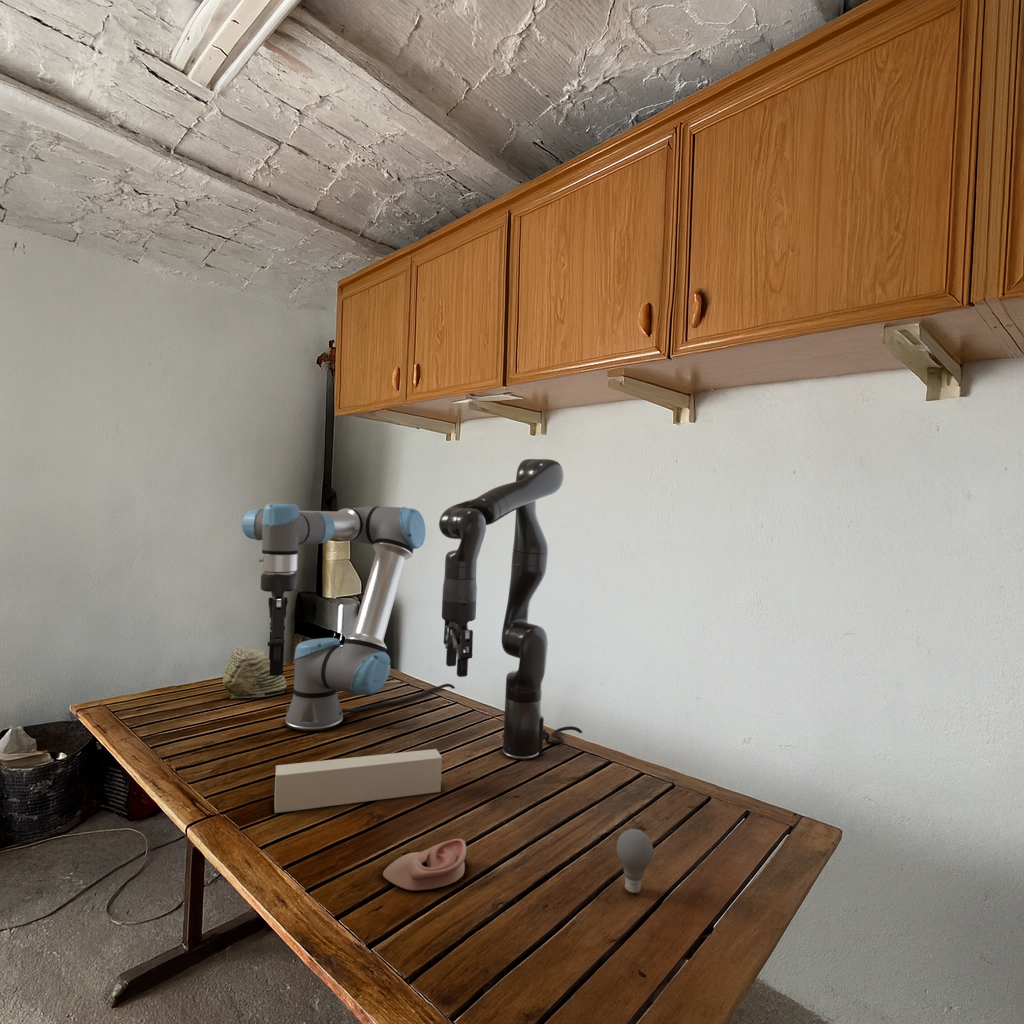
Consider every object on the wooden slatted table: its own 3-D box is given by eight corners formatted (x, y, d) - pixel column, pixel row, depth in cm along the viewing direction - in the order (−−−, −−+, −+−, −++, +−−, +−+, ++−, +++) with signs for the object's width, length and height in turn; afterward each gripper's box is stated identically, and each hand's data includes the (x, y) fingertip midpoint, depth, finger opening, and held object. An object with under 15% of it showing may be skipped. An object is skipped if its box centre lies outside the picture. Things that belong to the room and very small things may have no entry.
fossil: (218, 695, 195) (220, 647, 195) (278, 685, 208) (279, 640, 207) (228, 703, 189) (230, 653, 188) (289, 692, 201) (290, 645, 201)
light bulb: (610, 879, 108) (613, 822, 108) (644, 879, 109) (647, 822, 109) (619, 902, 102) (622, 840, 102) (655, 901, 103) (658, 840, 103)
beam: (274, 813, 126) (276, 775, 126) (274, 801, 131) (275, 765, 131) (440, 791, 138) (442, 757, 138) (435, 782, 143) (436, 748, 143)
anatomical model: (376, 860, 104) (402, 826, 115) (375, 884, 104) (401, 847, 115) (453, 873, 101) (472, 837, 113) (452, 898, 101) (471, 859, 113)
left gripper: (261, 566, 152) (258, 654, 152) (260, 580, 129) (257, 684, 129) (294, 566, 155) (291, 652, 155) (299, 580, 131) (295, 681, 132)
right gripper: (434, 593, 145) (431, 663, 145) (451, 603, 132) (448, 681, 132) (466, 592, 148) (463, 662, 148) (486, 603, 135) (482, 679, 135)
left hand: (275, 667), depth 142 cm, fingers open, 13 cm apart
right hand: (456, 671), depth 140 cm, fingers open, 8 cm apart
